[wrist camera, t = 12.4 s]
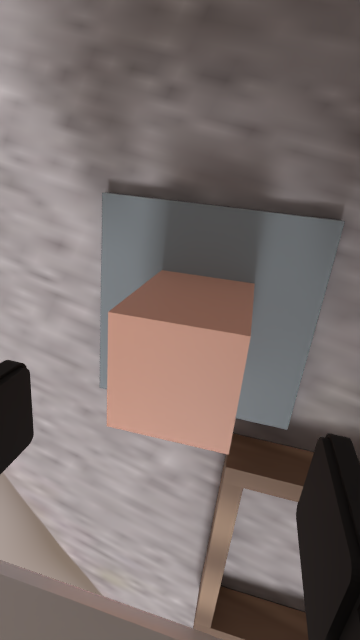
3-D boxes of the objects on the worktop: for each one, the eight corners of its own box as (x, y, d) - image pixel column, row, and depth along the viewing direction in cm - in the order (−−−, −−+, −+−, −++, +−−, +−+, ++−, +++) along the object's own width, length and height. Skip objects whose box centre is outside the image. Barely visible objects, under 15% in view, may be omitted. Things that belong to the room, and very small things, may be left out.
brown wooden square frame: (412, 656, 25) (431, 713, 23) (199, 589, 28) (192, 631, 25) (516, 499, 19) (559, 550, 16) (230, 432, 22) (225, 467, 19)
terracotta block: (239, 367, 19) (228, 454, 13) (155, 351, 20) (106, 425, 14) (254, 283, 17) (250, 336, 11) (161, 270, 18) (108, 312, 12)
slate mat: (286, 421, 21) (287, 429, 20) (104, 381, 23) (99, 387, 22) (341, 220, 16) (344, 221, 15) (108, 192, 18) (102, 192, 18)
